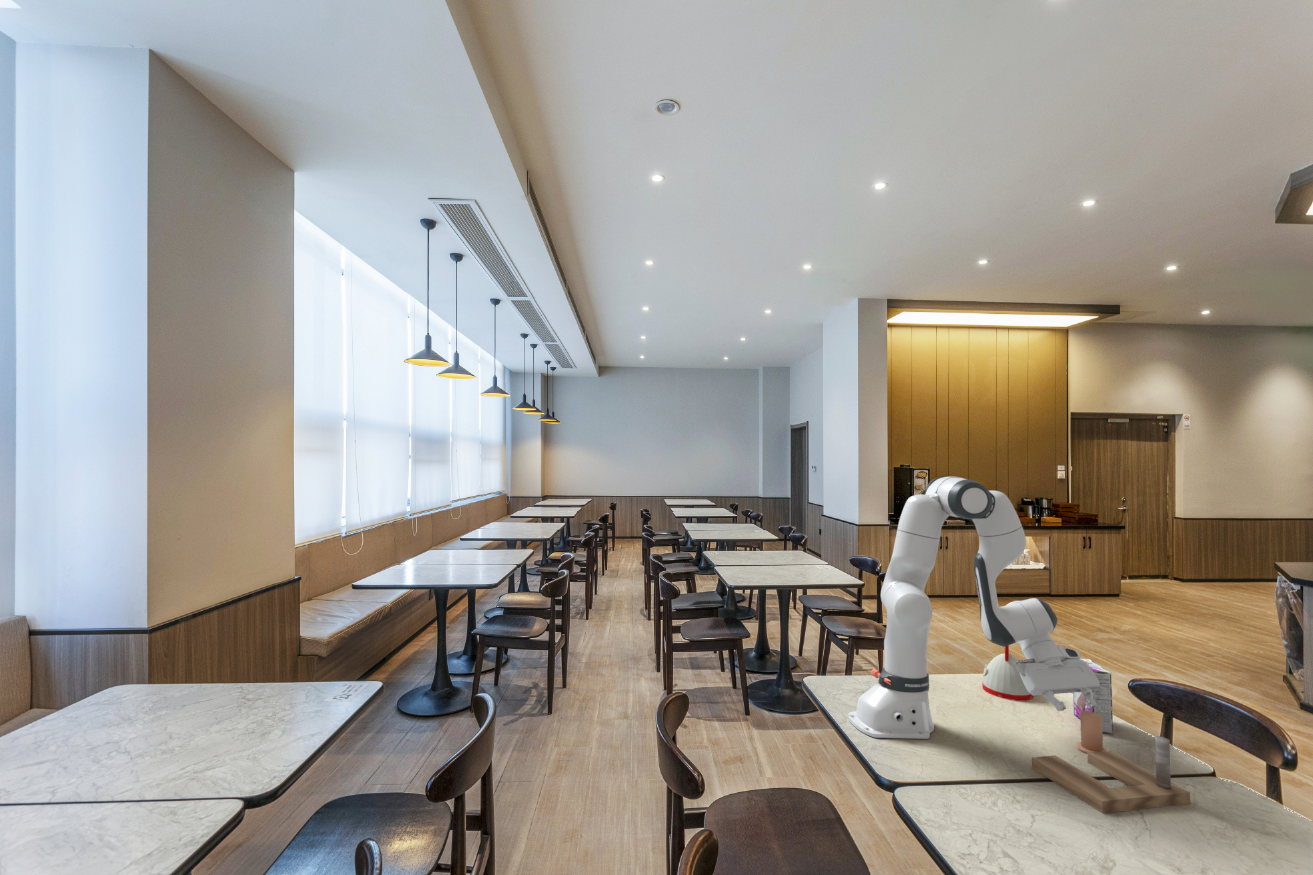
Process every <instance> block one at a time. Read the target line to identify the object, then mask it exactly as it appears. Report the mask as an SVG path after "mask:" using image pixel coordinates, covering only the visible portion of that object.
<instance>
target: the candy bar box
mask: <svg viewBox="0 0 1313 875" xmlns="http://www.w3.org/2000/svg"><path fill="white" fill-rule="evenodd" d="M1080 659H1081V660H1083V661H1084V662H1086V663H1087V665H1088V666H1089V667H1090V668H1091V670H1092V671H1093V672H1094V674H1095V675H1096V677H1097V678H1098V680H1099V683H1100V685H1099V687H1098V688H1097V689H1095V690H1094V691H1092V692H1093V698H1094V701H1095V702H1096V704H1097V707H1095V708H1088V707H1087V705H1086V704H1085V702H1086V701H1087V700H1086V696H1084V695H1083V694H1082V693H1081V692H1074V693H1072V694H1073V715H1074V716H1075V717H1076V718H1077V719H1079V720H1080V721H1081V716H1080V712H1081V711H1090V712H1094V713H1097V714H1099V715H1101V716H1102V734H1103V733H1104V734H1114V723H1113V721H1114V720H1113V690H1112V687H1113V686H1112V672H1110V671H1109V670H1107V669H1105V668H1104V667H1103V666H1101V665H1100V664H1098V663H1097V662H1095V661H1094V660H1091V659H1090V658H1080Z"/></svg>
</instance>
